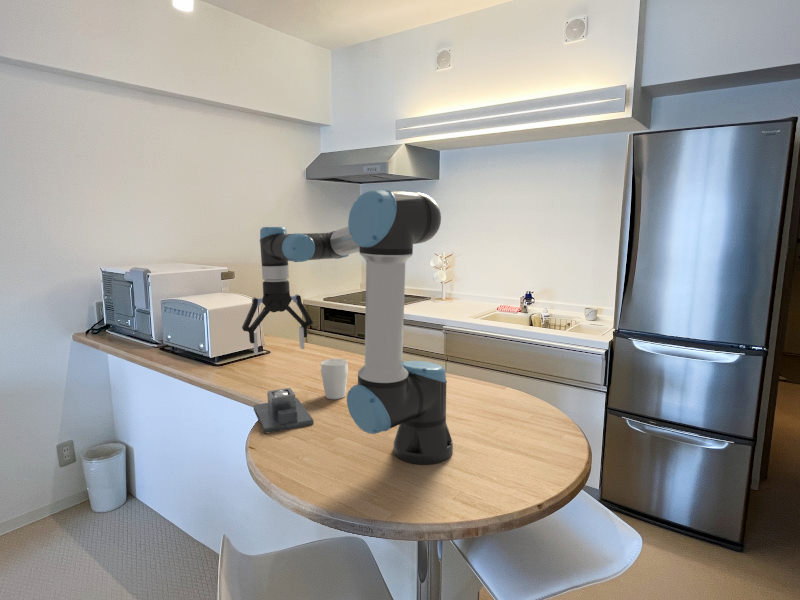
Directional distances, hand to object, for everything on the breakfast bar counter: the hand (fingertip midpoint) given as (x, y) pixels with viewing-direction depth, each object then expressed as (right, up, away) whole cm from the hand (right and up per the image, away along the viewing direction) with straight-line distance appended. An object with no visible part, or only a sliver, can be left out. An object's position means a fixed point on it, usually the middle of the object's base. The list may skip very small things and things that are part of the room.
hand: (279, 350), depth 144 cm
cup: (+14, -18, +21) cm, 30 cm away
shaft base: (0, -20, +3) cm, 21 cm away
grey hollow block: (0, -19, +3) cm, 19 cm away
